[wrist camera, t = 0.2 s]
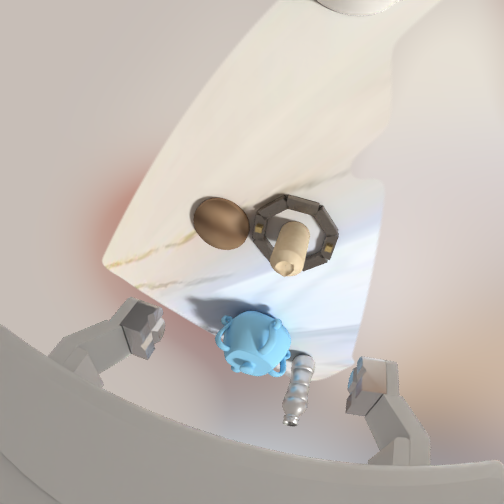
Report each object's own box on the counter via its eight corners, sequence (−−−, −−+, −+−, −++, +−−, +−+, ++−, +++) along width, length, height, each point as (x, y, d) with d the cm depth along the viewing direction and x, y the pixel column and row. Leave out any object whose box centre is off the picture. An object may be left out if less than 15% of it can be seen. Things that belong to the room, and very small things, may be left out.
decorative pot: (292, 308, 68) (279, 357, 57) (294, 348, 77) (283, 392, 67) (225, 300, 72) (204, 344, 62) (236, 340, 82) (220, 381, 72)
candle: (306, 248, 56) (298, 285, 49) (278, 242, 57) (265, 277, 50) (312, 224, 53) (305, 260, 45) (282, 217, 54) (269, 251, 46)
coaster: (196, 192, 55) (193, 195, 54) (253, 205, 54) (251, 209, 53) (195, 238, 62) (193, 241, 62) (246, 252, 61) (244, 255, 60)
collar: (261, 187, 51) (258, 192, 50) (346, 210, 49) (346, 216, 48) (250, 253, 61) (248, 259, 60) (323, 273, 59) (322, 280, 58)
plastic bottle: (312, 350, 76) (298, 419, 61) (319, 364, 79) (306, 428, 64) (290, 352, 79) (272, 418, 64) (298, 365, 82) (282, 427, 67)
